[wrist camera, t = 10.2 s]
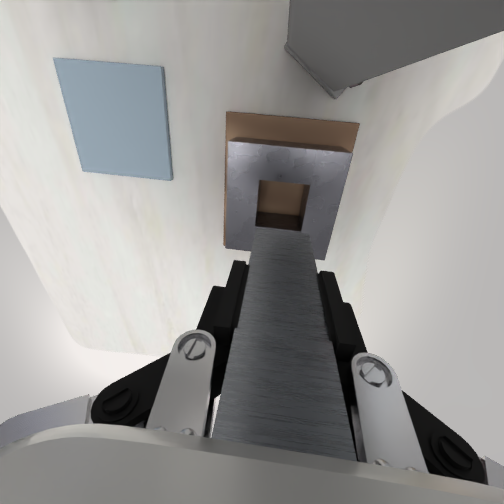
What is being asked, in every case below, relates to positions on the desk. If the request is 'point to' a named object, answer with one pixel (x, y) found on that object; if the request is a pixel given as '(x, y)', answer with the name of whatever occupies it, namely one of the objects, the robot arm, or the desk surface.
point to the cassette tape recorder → (381, 34)
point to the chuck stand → (291, 130)
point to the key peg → (283, 357)
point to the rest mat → (117, 117)
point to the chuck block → (290, 171)
